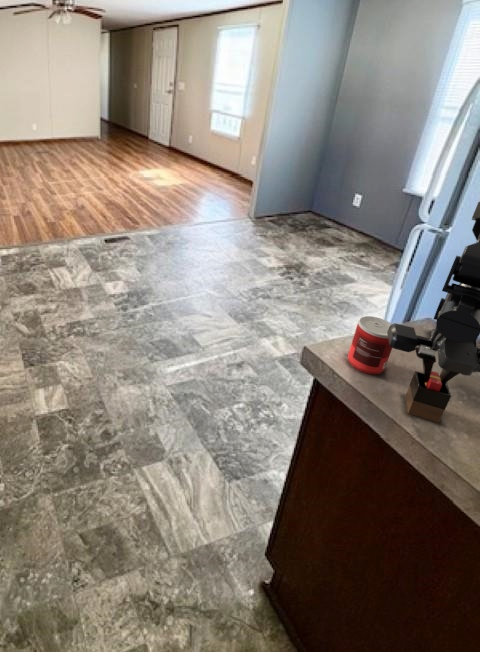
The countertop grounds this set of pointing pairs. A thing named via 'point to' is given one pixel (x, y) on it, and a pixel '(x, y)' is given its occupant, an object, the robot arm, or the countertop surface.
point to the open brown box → (429, 392)
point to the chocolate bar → (434, 382)
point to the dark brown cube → (422, 409)
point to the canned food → (370, 345)
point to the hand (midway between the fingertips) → (432, 382)
